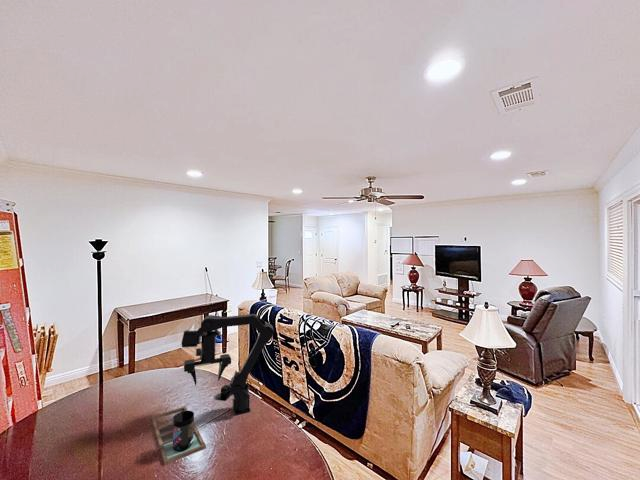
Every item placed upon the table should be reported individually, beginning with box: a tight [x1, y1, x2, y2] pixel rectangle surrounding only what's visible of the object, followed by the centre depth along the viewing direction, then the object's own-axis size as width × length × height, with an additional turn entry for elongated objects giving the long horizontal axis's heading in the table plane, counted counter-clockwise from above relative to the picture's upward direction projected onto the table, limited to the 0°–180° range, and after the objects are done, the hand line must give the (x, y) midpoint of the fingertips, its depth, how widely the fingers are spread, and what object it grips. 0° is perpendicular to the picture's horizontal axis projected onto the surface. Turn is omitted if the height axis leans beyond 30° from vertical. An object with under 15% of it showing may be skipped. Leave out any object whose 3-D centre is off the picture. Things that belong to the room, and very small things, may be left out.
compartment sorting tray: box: [150, 406, 207, 466], centre depth 108 cm, size 31×13×1 cm, turn 38°
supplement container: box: [172, 410, 195, 452], centre depth 100 cm, size 7×7×10 cm
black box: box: [214, 384, 233, 402], centre depth 136 cm, size 12×7×5 cm, turn 168°
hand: (207, 382), depth 121 cm, fingers open, 9 cm apart
